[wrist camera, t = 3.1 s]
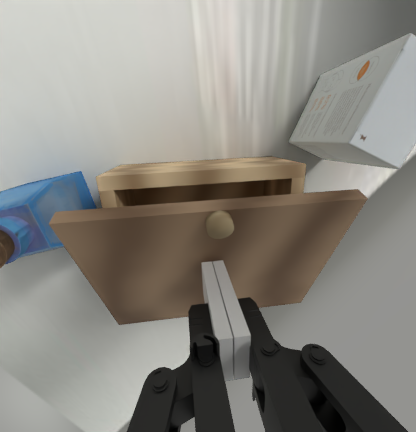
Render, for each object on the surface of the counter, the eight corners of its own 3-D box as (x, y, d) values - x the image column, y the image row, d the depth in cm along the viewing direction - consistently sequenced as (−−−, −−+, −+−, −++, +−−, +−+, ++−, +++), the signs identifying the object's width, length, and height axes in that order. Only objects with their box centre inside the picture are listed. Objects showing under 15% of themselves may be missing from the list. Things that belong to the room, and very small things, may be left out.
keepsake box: (271, 156, 27) (306, 163, 20) (266, 256, 32) (292, 292, 24) (120, 165, 25) (95, 176, 18) (138, 269, 30) (125, 312, 23)
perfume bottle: (26, 183, 25) (-98, 222, 14) (81, 171, 25) (1, 198, 14) (51, 232, 27) (-39, 299, 16) (101, 220, 27) (47, 278, 16)
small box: (322, 160, 28) (399, 172, 18) (286, 142, 27) (347, 145, 17) (358, 94, 26) (467, 69, 16) (320, 72, 25) (413, 29, 15)
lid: (357, 189, 15) (376, 207, 13) (296, 293, 24) (304, 309, 23) (55, 211, 13) (42, 235, 11) (120, 314, 23) (117, 333, 21)
